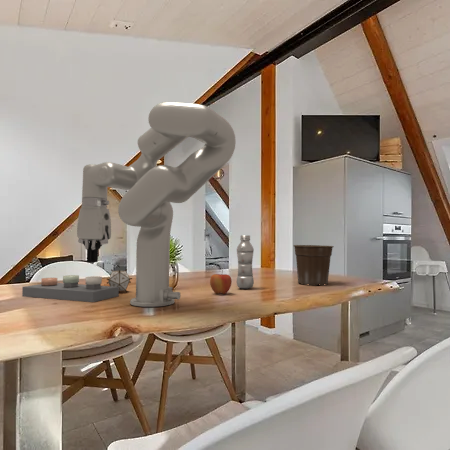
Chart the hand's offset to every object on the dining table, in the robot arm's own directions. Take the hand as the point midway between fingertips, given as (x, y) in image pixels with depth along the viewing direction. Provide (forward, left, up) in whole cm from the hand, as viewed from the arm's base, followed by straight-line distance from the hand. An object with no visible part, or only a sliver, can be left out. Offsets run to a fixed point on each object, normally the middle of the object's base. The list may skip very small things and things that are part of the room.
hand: (92, 262), depth 116 cm
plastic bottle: (-39, -38, -11) cm, 55 cm away
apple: (-35, -23, -12) cm, 43 cm away
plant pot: (-61, -63, -12) cm, 88 cm away
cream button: (-1, 0, -9) cm, 9 cm away
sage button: (+8, 0, -9) cm, 12 cm away
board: (+8, 0, -11) cm, 14 cm away
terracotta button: (+17, 0, -11) cm, 20 cm away
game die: (-1, -13, -12) cm, 17 cm away
